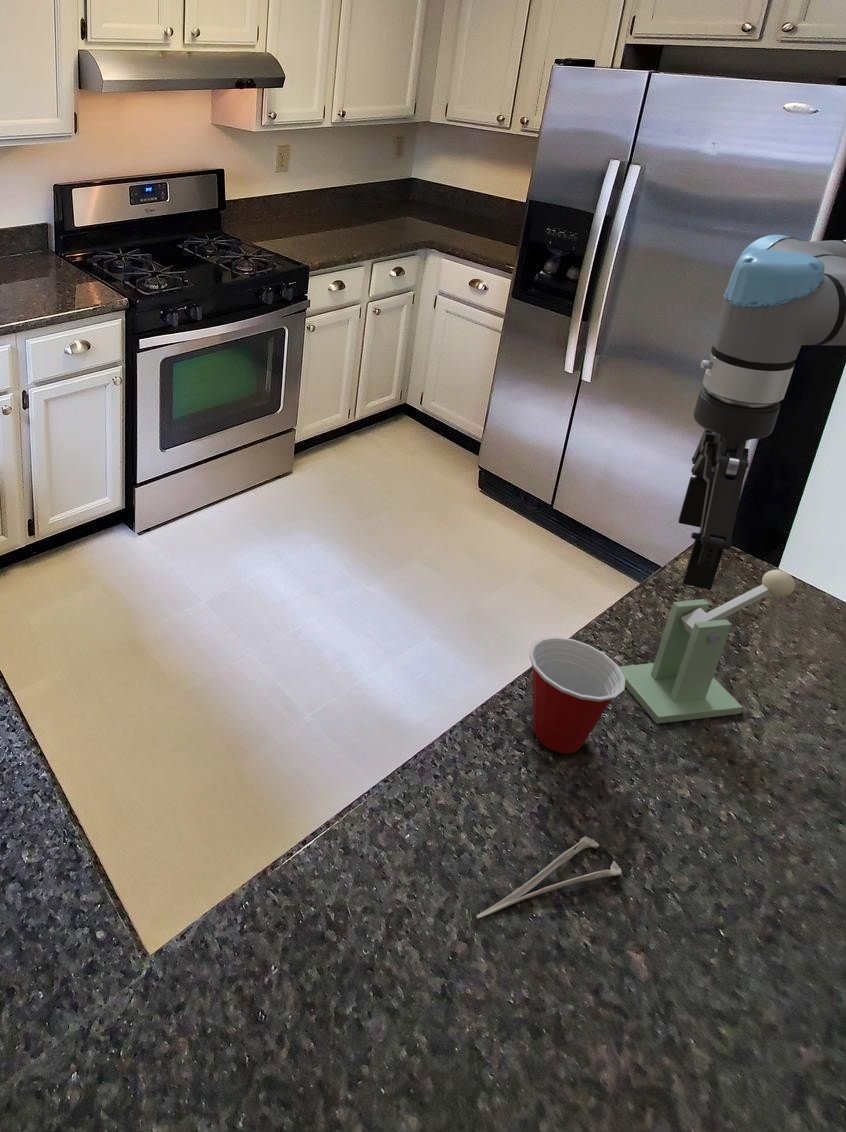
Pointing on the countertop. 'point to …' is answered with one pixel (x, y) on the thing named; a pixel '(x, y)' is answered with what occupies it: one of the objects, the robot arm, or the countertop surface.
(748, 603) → the lever
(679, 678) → the bracket
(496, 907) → the lower jaw bone
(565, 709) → the plastic cup
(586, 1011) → the countertop surface
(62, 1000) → the countertop surface
